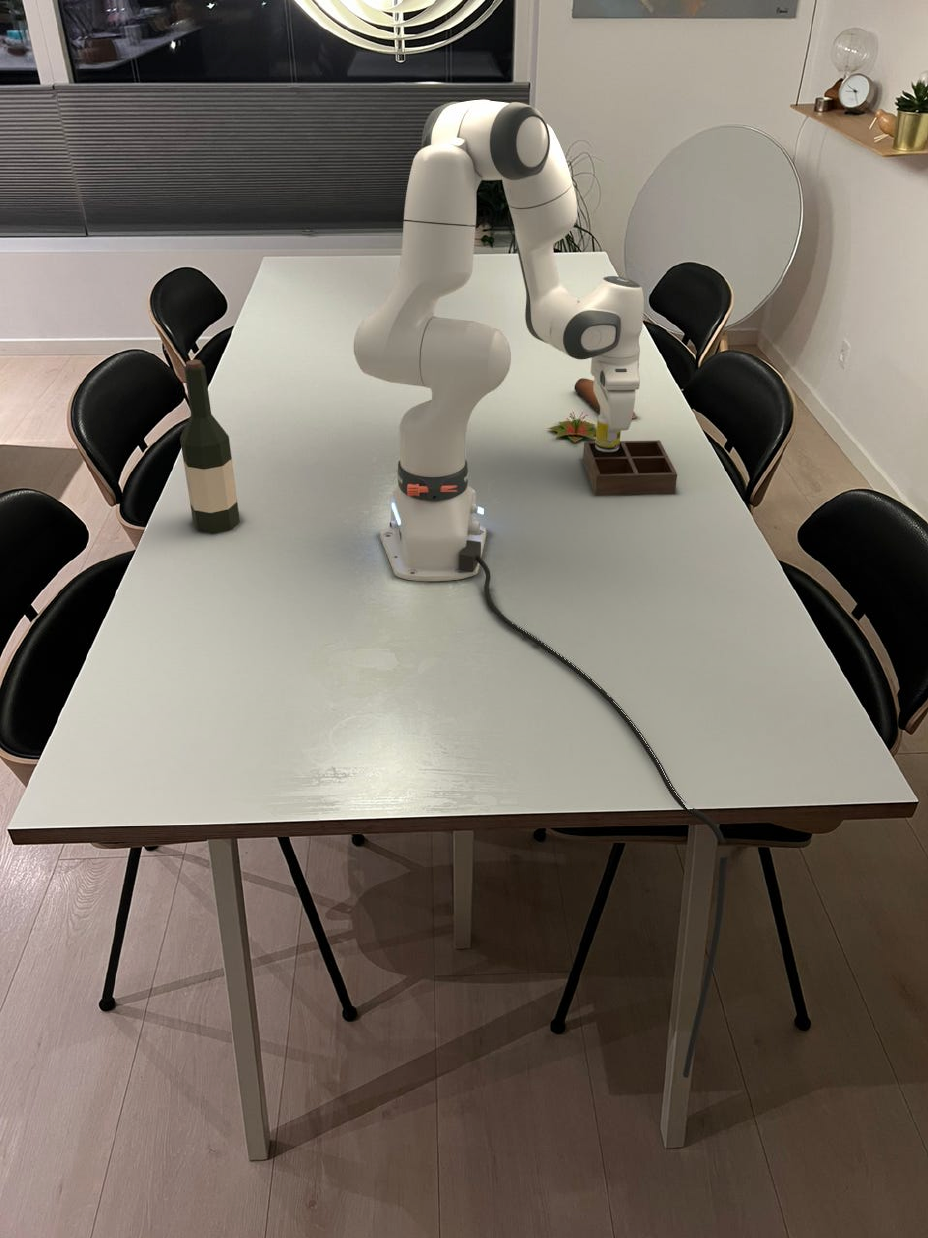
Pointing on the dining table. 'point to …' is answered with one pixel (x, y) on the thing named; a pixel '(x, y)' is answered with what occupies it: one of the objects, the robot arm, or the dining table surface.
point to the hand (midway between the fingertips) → (608, 433)
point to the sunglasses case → (589, 393)
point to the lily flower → (575, 429)
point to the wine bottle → (207, 460)
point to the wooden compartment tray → (630, 469)
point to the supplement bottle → (601, 437)
